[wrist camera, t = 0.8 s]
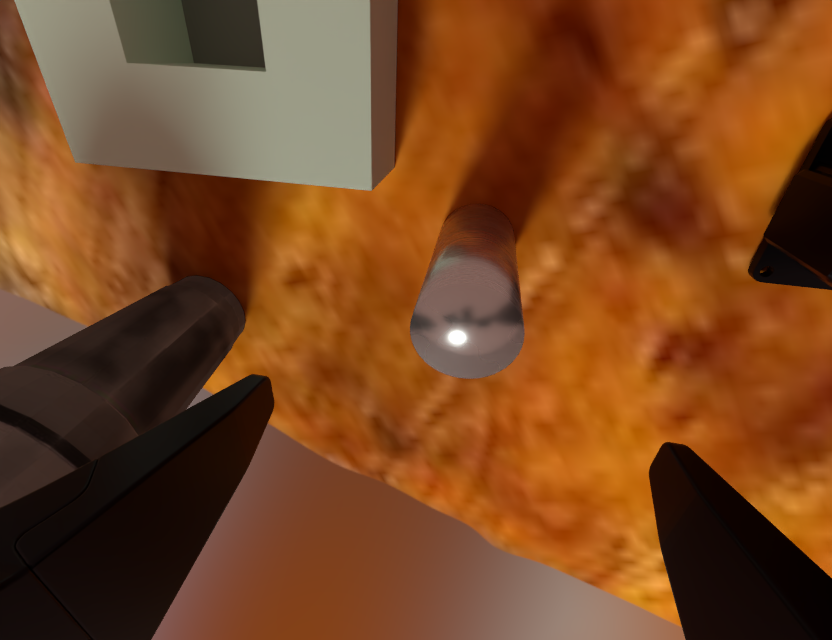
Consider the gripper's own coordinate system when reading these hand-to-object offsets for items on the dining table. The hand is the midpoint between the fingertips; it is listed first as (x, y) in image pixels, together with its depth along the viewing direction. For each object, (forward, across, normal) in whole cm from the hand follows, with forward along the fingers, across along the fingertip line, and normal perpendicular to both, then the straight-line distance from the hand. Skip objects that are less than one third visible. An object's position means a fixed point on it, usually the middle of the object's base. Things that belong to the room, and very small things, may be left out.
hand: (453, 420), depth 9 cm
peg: (+12, 0, 0) cm, 12 cm away
